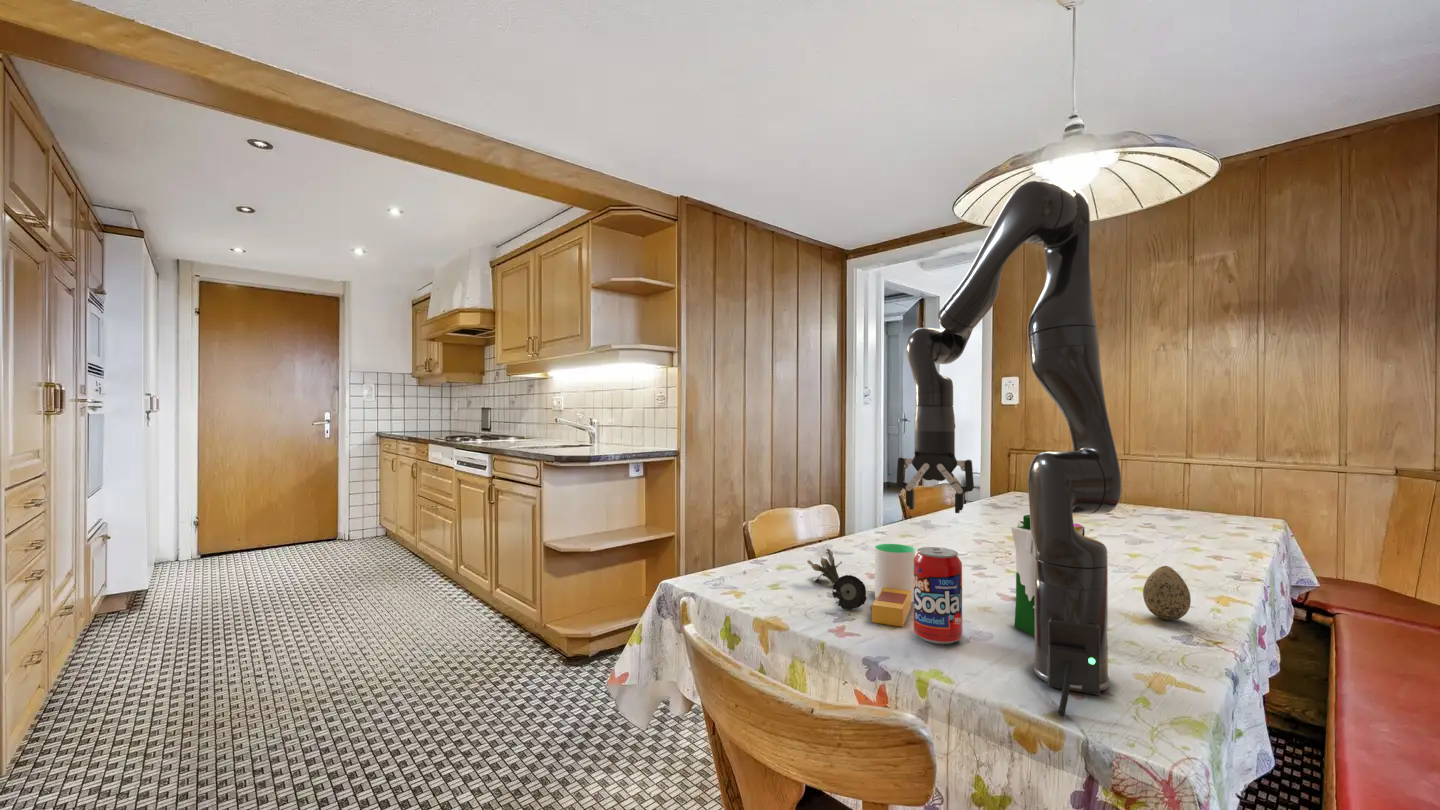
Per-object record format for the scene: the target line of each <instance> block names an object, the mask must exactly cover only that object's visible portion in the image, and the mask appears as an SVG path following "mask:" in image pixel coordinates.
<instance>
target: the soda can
mask: <svg viewBox="0 0 1440 810" xmlns="http://www.w3.org/2000/svg"><path fill="white" fill-rule="evenodd" d="M958 554H959V553H958V551H956V550H953V549H951V548H945V547H938V546H937V547H936V546H925V547H920V548H918V549H917V554H915V558H914V602H913V632H914V633H915V635H916V636H918V638H921V639H922V640H923V641H925V642H927V643H931V644H934V645H951V644H954V643H956V642H959V641H960V640H961V639H962V638H963V562H962V560H961V559H960V558H959V556H958Z"/></svg>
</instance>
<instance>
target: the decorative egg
mask: <svg viewBox="0 0 1440 810" xmlns="http://www.w3.org/2000/svg"><path fill="white" fill-rule="evenodd" d="M1187 585H1188V584H1186V582H1185V580H1184V578H1182V576H1181V575H1180V574H1179V573H1178V572H1177V571H1176V570H1175V569H1174V568H1173V567H1171V566H1168V565H1162V566H1160V567H1158V568H1156V569H1155V570H1154V571H1153V572H1151V574H1150V575H1149V576H1148V577H1147V579H1146V581H1145V583H1144V585H1143V589H1142V597H1143V601H1144V604H1145V606H1146V608H1147V610H1149V612H1150V613H1151V614H1152V615H1154V616H1155V617H1156V618H1158V619H1161V620H1164V621H1175V620H1180V619H1181V618H1184V616H1186V614H1187V613H1188V611H1189V610H1190V607H1191V600H1192V599H1191V598H1192V597H1191V593H1190V589H1189V588H1188V586H1187Z"/></svg>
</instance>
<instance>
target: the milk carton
mask: <svg viewBox="0 0 1440 810" xmlns="http://www.w3.org/2000/svg"><path fill="white" fill-rule="evenodd" d="M1022 521H1023V526H1022V527H1018V526H1015V527H1011V529H1010V530H1011V533H1012V534H1011V535H1012V539H1013V544H1014V548H1015V610H1014V622H1013V623H1014V625H1013V626H1014V628H1016V629H1017V630H1020V631H1022V632H1025V633H1026V634H1028V635H1031V636H1033V637H1035V550H1034V544H1033V540H1032V536H1031V528H1030V514H1024V515H1023V517H1022Z"/></svg>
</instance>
